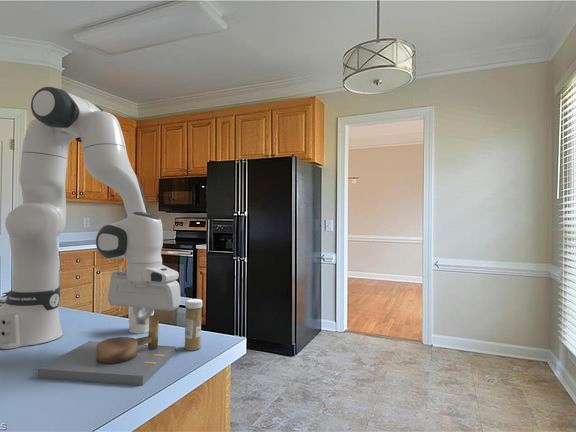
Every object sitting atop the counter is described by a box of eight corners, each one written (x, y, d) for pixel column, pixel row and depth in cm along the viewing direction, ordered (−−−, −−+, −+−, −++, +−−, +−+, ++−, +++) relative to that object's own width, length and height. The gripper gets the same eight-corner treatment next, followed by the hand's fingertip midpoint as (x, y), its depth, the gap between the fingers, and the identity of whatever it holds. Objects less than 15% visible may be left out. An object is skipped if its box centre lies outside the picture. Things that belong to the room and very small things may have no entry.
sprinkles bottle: (202, 349, 98) (204, 300, 98) (186, 352, 95) (188, 302, 96) (197, 344, 102) (199, 297, 102) (181, 346, 99) (183, 299, 99)
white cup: (159, 328, 114) (160, 298, 114) (141, 336, 107) (143, 303, 107) (139, 325, 117) (140, 295, 117) (121, 332, 109) (122, 300, 110)
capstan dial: (103, 366, 79) (105, 330, 79) (90, 354, 85) (92, 321, 86) (165, 350, 90) (166, 319, 90) (149, 341, 96) (150, 312, 96)
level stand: (37, 377, 77) (37, 368, 77) (88, 348, 95) (89, 340, 95) (142, 385, 76) (143, 375, 76) (174, 354, 94) (175, 346, 94)
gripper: (103, 271, 94) (101, 323, 94) (171, 276, 89) (169, 331, 89) (119, 268, 100) (118, 317, 100) (184, 273, 95) (182, 324, 95)
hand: (142, 323), depth 94 cm, fingers closed
